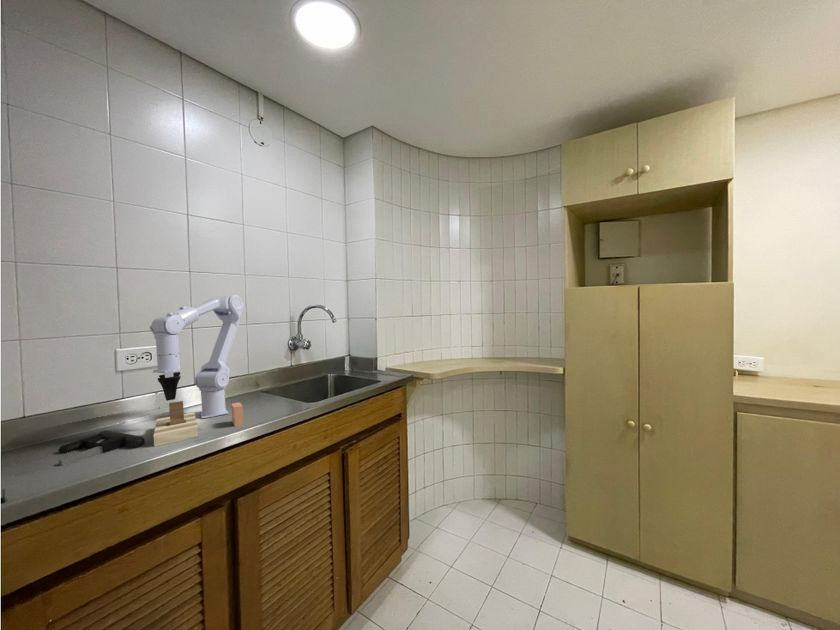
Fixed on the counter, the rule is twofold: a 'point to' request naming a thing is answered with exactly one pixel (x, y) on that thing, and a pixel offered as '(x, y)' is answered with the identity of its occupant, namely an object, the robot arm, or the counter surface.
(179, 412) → the walnut peg
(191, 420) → the socket block
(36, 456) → the counter surface
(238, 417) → the salmon brown flat block
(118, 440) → the door handle
